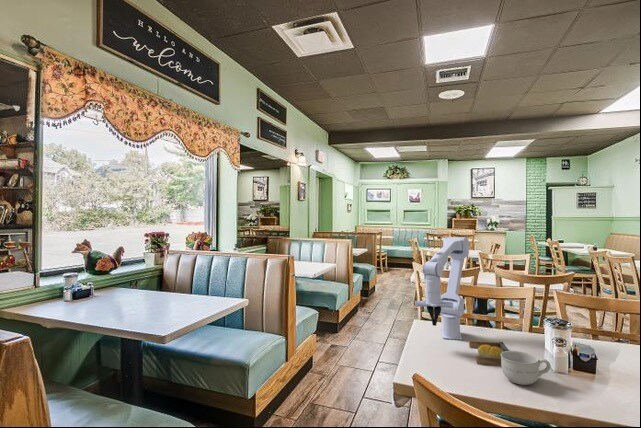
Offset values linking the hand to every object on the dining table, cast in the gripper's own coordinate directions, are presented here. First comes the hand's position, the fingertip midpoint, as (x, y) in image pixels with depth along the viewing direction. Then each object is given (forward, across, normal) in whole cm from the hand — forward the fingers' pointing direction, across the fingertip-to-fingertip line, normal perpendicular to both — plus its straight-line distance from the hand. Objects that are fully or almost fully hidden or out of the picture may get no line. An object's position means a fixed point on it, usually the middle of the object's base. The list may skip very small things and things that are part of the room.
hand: (434, 324), depth 136 cm
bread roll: (+10, +20, -4) cm, 23 cm away
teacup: (+10, +26, -22) cm, 35 cm away
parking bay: (+9, +19, -4) cm, 22 cm away
